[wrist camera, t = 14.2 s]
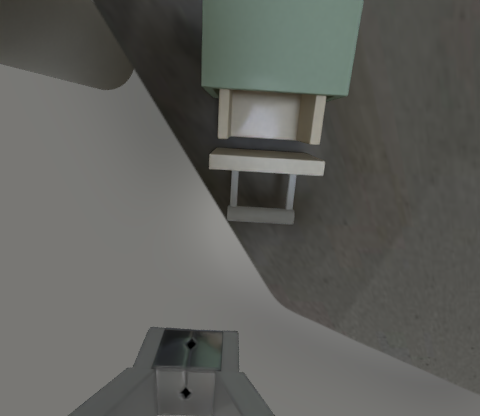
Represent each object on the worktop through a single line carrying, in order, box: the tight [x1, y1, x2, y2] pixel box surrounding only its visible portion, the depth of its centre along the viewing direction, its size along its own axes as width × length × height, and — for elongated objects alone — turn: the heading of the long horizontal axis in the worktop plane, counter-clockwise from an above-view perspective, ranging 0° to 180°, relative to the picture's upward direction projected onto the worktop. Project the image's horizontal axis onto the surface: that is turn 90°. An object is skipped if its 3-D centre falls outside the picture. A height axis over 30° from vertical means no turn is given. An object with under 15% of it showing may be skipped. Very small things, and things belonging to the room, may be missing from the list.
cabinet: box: [201, 0, 364, 102], centre depth 21 cm, size 12×10×8 cm
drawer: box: [209, 89, 327, 225], centre depth 24 cm, size 16×9×7 cm, turn 177°
